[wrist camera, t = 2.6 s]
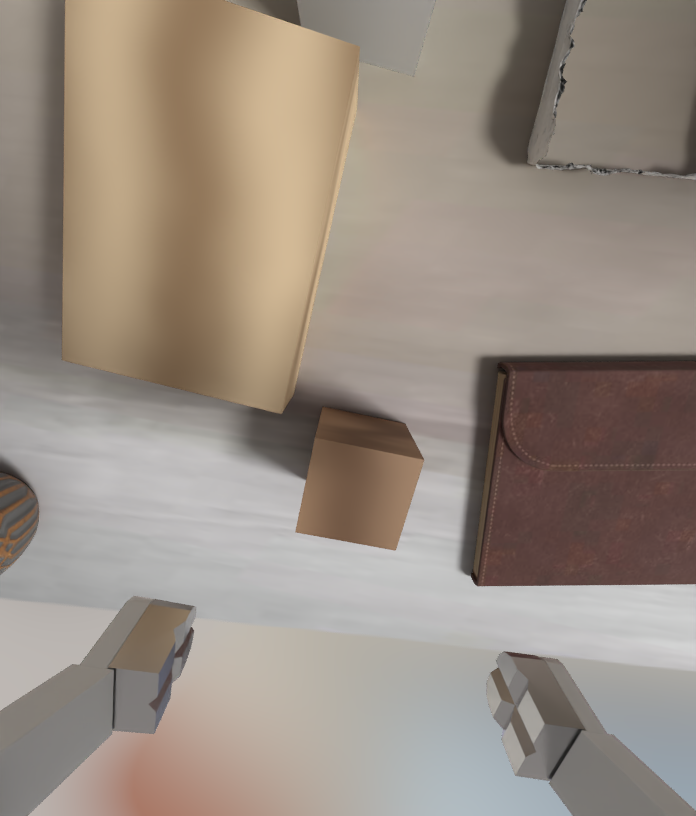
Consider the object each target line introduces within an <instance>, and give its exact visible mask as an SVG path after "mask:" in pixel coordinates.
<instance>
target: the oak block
mask: <svg viewBox="0 0 696 816" xmlns="http://www.w3.org/2000/svg"><path fill="white" fill-rule="evenodd" d="M359 57H360V46H357V45H354V44H351V43H348V42H345V41H342V40H339V39H336V38H333V37H330V36H327V35H324V34H321V33H318V32H316V31H313V30H310V29H307V28H304V27H301V26H298V25H295V24H292V23H289V22H286V21H283V20H280V19H277V18H274V17H271V16H268V15H266V14H263V13H260V12H257V11H254V10H251V9H248V8H245V7H242V6H239V5H236V4H233V3H230V2H227V1H224V0H65V72H64V184H63V297H62V360H63V361H67V362H71V363H75V364H79V365H84V366H88V367H92V368H96V369H100V370H104V371H108V372H112V373H116V374H120V375H124V376H128V377H132V378H136V379H141V380H145V381H149V382H153V383H157V384H161V385H165V386H169V387H173V388H177V389H181V390H185V391H189V392H193V393H198V394H202V395H206V396H210V397H214V398H218V399H222V400H226V401H230V402H234V403H238V404H242V405H246V406H250V407H255V408H259V409H263V410H267V411H271V412H275V413H279V414H282V412H283V411H284V409H285V408H286V406H287V405H288V403H289V401H290V400H291V398H292V397H293V395H294V391H295V386H296V382H297V377H298V373H299V368H300V364H301V359H302V355H303V350H304V346H305V341H306V337H307V332H308V328H309V323H310V319H311V314H312V310H313V305H314V301H315V296H316V292H317V287H318V283H319V278H320V273H321V269H322V264H323V260H324V255H325V251H326V246H327V242H328V237H329V233H330V228H331V224H332V219H333V215H334V210H335V206H336V201H337V197H338V192H339V188H340V183H341V179H342V174H343V170H344V165H345V160H346V156H347V151H348V147H349V142H350V138H351V133H352V129H353V124H354V120H355V115H356V111H357V97H358V77H359Z"/></svg>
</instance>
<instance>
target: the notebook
mask: <svg viewBox="0 0 696 816" xmlns="http://www.w3.org/2000/svg"><path fill="white" fill-rule="evenodd" d="M497 368H504V369H505V371H506V372H498V380H497V388H496V395H495V403H494V411H493V419H492V426H491V434H490V442H489V450H488V457H487V465H486V473H485V481H484V488H483V496H482V504H481V512H480V519H479V527H478V535H477V542H476V550H475V558H474V566H473V573H471V578H472V580H473V582H474V584H475V585H477V586H549V585H660V584H696V361H631V362H500V363H498V367H497Z"/></svg>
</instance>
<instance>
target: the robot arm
mask: <svg viewBox="0 0 696 816" xmlns="http://www.w3.org/2000/svg"><path fill="white" fill-rule="evenodd" d="M195 617H196V607H195V606H191V605H185V604H179V603H174V602H168V601H163V600H157V599H151V598H145V597H138V596H133V597H132V598H131V599H129V600H128V601H127V602H126V603H125V605H124V606H123V607H122V609H121V610H120V611H119V613H118V614H117V615H116V617H115V618H114V620H113V621H112V622H111V623H110V625H109V626H108V628H107V629H106V630H105V632H104V633H103V634H102V636H101V637H100V638H99V640H98V641H97V642H96V644H95V645H94V647H93V648H92V649H91V650H90V652H89V653H88V654H87V656H86V657H85V658H84V660H83V661H82V663H81V664H80V665H76V664H72V665H70V666H69V667H67V668H66V669H64V670H63V671H61V672H60V673H58V674H56V675H55V676H53V677H52V678H50V679H49V680H47V681H46V682H44V683H43V684H41V685H40V686H38V687H36V688H35V689H33V690H32V691H30V692H29V693H27V694H25V695H24V696H22V697H21V698H19V699H18V700H16V701H15V702H13V703H12V704H10V705H9V706H7V707H5V708H4V709H2V710H1V711H0V816H28V815H29V814H30V813H31V812H32V811H33V810H34V809H35V808H36V807H37V806H38V805H39V804H40V803H41V802H42V801H43V800H44V799H45V798H46V797H47V796H49V795H50V793H52V792H53V791H54V790H55V789H56V788H57V787H58V786H59V785H60V784H61V783H62V782H63V781H64V780H65V779H66V778H67V777H68V776H69V775H70V774H71V773H72V772H73V771H74V770H75V769H76V768H77V767H78V766H79V765H80V764H81V763H83V762H84V761H85V760H86V759H87V758H88V757H89V756H90V755H91V754H92V753H93V752H94V751H95V750H96V749H97V748H98V747H99V746H100V745H101V744H102V743H103V742H104V741H105V740H106V739H107V738H108V737H109V736H110V735H111V734H112V731H124V732H136V733H149V734H154V733H155V731H156V729H157V727H158V724H159V722H160V720H161V718H162V716H163V713H164V711H165V709H166V707H167V704H168V702H169V700H170V696H171V687H172V683H173V682H174V681H175V680H176V679H177V678H179V677H180V675H181V673H182V670H183V668H184V666H185V663H186V661H187V658H188V655H189V652H190V649H191V645H192V640H193V635H194V630H193V628H192V627H191V626H192V624H193V621H194V619H195ZM496 662H497V665H498V668H497V669H495V670H494V671H492V672H491V673H490V675H489V678H488V680H487V689H486V692H487V693H486V695H487V699H488V704H489V707H490V710H491V713H492V716H493V718H494V719H495V720H496V721H497V723H498V724H499V725H500V726H501V727H502V728H503V732H502V742H503V745H504V747H505V750H506V753H507V755H508V758H509V761H510V763H511V766H512V769H513V771H514V774H515V776H521V777H527V778H533V779H540V780H547V781H550V783H549V784H550V785H551V787H552V788H553V790H554V791H555V792H556V794H557V795H558V796H559V798H560V799H561V800H562V802H563V803H564V804H565V806H566V807H567V808H568V810H569V811H570V812H571V814H572V815H573V816H696V811H695V810H694V809H693V808H692V807H691V806H690V805H689V804H688V803H687V802H686V801H685V800H683V799H682V798H681V797H680V796H679V795H678V794H677V793H676V792H675V791H674V790H673V789H672V788H670V787H669V786H668V785H667V784H666V783H665V782H664V781H663V780H662V779H661V778H660V777H659V776H657V775H656V774H655V773H654V772H653V771H652V770H651V769H650V768H649V767H648V766H647V765H646V764H644V763H643V762H642V761H641V760H640V759H639V758H638V757H637V756H636V755H635V754H634V753H633V752H631V751H630V750H629V749H628V748H627V747H626V746H625V745H624V744H623V743H622V742H620V740H618V739H617V738H616V737H615V736H614V735H612V734H607V732H606V731H605V729H604V728H603V726H602V724H601V723H600V721H599V720H598V718H597V717H596V715H595V713H594V712H593V710H592V709H591V707H590V706H589V704H588V702H587V701H586V699H585V698H584V696H583V695H582V693H581V691H580V690H579V688H578V687H577V686H576V684H575V682H574V680H573V679H572V677H571V676H570V674H569V673H568V671H567V670H566V668H565V666H564V665H563V664H562V663H561V662H560V661H559V660H558V659H552V658H546V657H538V656H535V655H527V654H520V653H512V652H505V651H504V652H502V653H500V654H499V656H498V658H497V660H496Z"/></svg>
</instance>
